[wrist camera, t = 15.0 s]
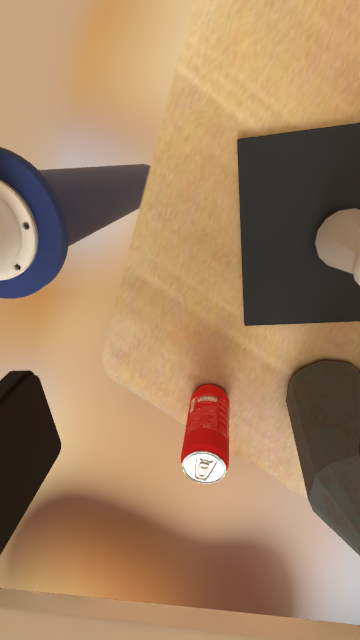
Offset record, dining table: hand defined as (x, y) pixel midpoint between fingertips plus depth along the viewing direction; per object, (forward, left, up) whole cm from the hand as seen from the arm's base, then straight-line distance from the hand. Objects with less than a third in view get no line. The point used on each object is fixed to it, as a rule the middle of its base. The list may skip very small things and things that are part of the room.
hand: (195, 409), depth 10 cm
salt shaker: (+12, -2, -30) cm, 32 cm away
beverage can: (-3, -23, -31) cm, 38 cm away
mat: (+12, -2, -30) cm, 33 cm away
